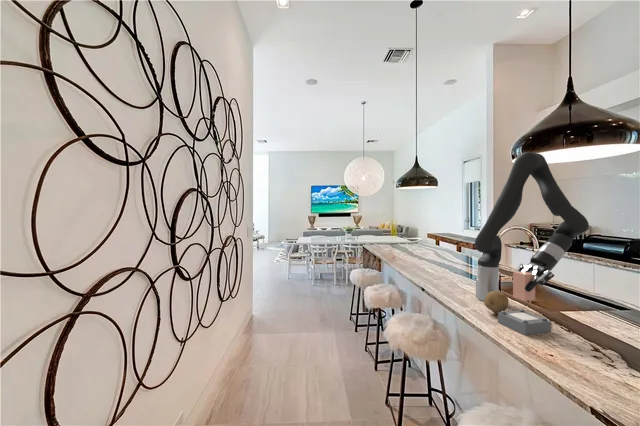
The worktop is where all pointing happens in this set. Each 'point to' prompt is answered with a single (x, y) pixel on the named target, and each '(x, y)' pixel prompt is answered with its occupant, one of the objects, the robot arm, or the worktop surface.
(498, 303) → the brown round lump
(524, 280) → the coral brick
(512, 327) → the base brick
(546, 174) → the robot arm
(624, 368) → the worktop surface
